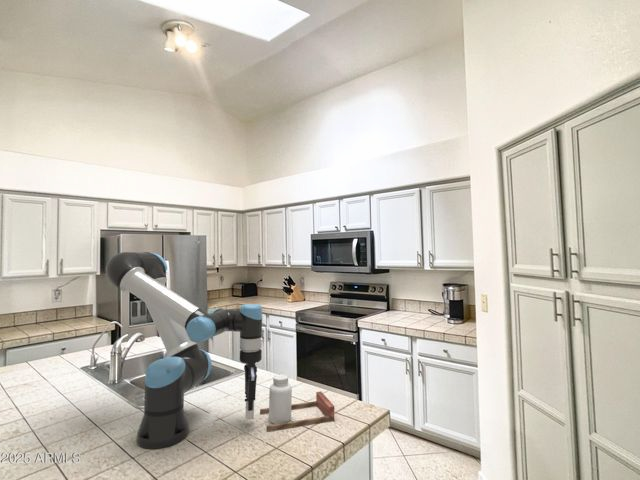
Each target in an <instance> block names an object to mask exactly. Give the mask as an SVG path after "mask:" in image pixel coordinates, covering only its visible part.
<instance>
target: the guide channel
mask: <svg viewBox="0 0 640 480" xmlns="http://www.w3.org/2000/svg"><path fill="white" fill-rule="evenodd" d="M315 399H316V400H314V401H309V402H307V401H306V402H301V403H293V404H291V411H292V410H300V409H306V408H312V407H317V408H318V409H319V411H320V412H321V413H322V414H323V416H320V417H319V416H318V417H313V418H308V419H307V418H305V419H300V420H294V421H289V422H287V423H280V424H274V423H273V424H268V425H266V433H267V432H274V431H280V430H285V429H291V428H297V427H304V426H311V425H315V424H322V423H329V422H334V421H335V405H334V404H333V403H332V401H331V400H330V399H329V398H328V397H327V396H326V395H325V394H324V393H323V392H322V391H317V392H316V395H315ZM259 414H260V415H265V414H266V415H268V414H269V407H265V408H260V409H259Z"/></svg>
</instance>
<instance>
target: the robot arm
mask: <svg viewBox="0 0 640 480" xmlns="http://www.w3.org/2000/svg"><path fill="white" fill-rule="evenodd" d="M167 270H168V265H167V262H166V260H165V259H164V258H163V257H162V256H161V255H160V254H158V253H154V252H149V251H143V252H138V251H137V252H135V251H134V252H132V251H124V252H119V253H116V254H115V255H113V256H112V257H111V258H109V260H108V262H107V263H106V266H105V274H106V278H107V279H108V281H109V282H110V283H111V284H112V285H113V286H114V287H115V288H117V289H118V290H119V291H121V292H123V293H131V295H134V296H135V297H137V298H138V299H139V300H140V301H142V302H144V303H145V306H146V308H147V310H148V312H149V314H150V318H151V319H152V321H153V323H154V325H155V328H156V331H157V333H158V335H159V337H160V339H161V341H162V344H163V346H164V348H165V351H166V356H165V357H164V358H160V359H157V360H155V361H153V362H152V363H150V364H149V365H148V366H147V368H146V370H145V376H144V404H143V405H144V409H143V411H144V413H143V417H142V419H141V422H140V425H139V428H138V431H137V434H136V443H137V445H138V446H140V448H141V447H142V448H143V449H150V450H151V449H152V450H153V449H154V450H155V449H156V450H157V449H162V448H167V447H170V446H173V445H176V444H178V443H179V442H182V441H183V440H184V439H185V438H187V436H188V435H189V431H190V429H189V428H190V424H189V421H188V418H187V414H186V411H185V408H184V406H185V393H187V392H188V391H190V390H191V389H193V388H195V387H196V386H198V385H200V384H202V383H203V382H204V381H205V380H206V379H207V378H208V376H209V375H210V374H211V371H212V363H213V362H212V358H211V356H210V354H209V353H208V352H207V351H206V350H204V349H200V348H199V345H198V343H200V342H205V341H208V340H210V339H211V338H214V337H215V336H219V335H221V334H223V333H225V332H237V333H238V332H239V349H240V350H239V362H240V363H242V364H244V366H243V370H244V394H245V398H244V402H245V420H246V421H248V420H255V401H256V394H257V391H256V390H257V379H258V375H257V372H258V367H257V365H256V364H257V363H259V362H261V361H262V357H263V355H262V353H263V352H262V346H263V345H262V343H263V342H264V338H263V332H262V331H263V308H262V306H261V305H260V304H256V303H246V304H242V305H240V307H239V308H240V309H227V308H226V309H225V308H215V309H214V308H213V309H210V311H209V312H208V313H207V312H206V311H204V310H203V309H201V308H200V307H198V306H197V305H195V304H194V303H192V302H190V301H189V300H187V299H186V298H184V297H182V296H181V295H180V294H178V293H176V292H175V291H173V290H171V289H170V288H168V287H167V286H166V282H167V280H168V279H167V276H166V275H167Z"/></svg>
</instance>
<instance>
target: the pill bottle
mask: <svg viewBox="0 0 640 480" xmlns="http://www.w3.org/2000/svg"><path fill="white" fill-rule="evenodd" d="M272 379H273V380H272V381H273V383H272V384H271V385H270V386H269V389H268V390H269V393H268V395H269V397H268V399H269V400H268V408H269V413H268V421H269V422H270V423H271V424H273V425H274V424H280V423H287V422H291V419H292V410H291V405H292V392H293V389H292V388H293V387H292V385H291V383H289V376H288V375H287V374H282V373H281V374H276V375H274V376H273V377H272Z"/></svg>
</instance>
